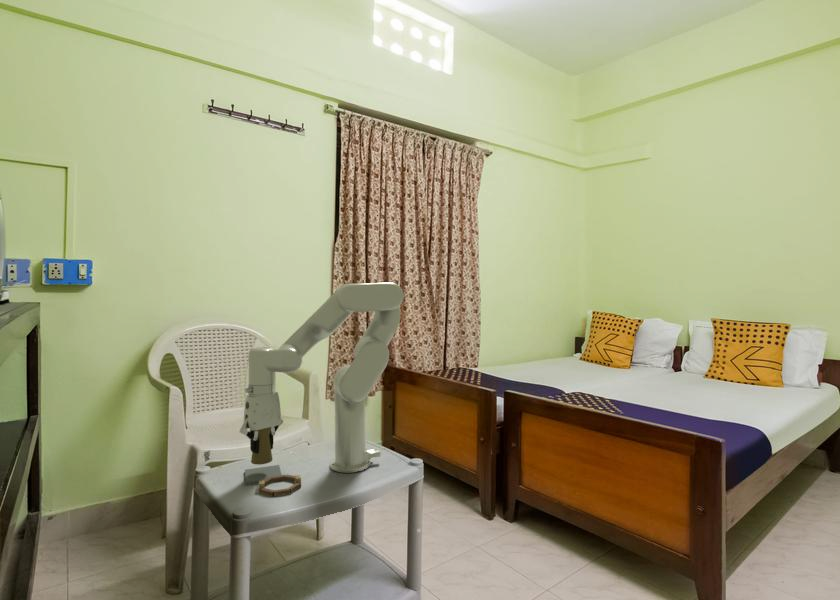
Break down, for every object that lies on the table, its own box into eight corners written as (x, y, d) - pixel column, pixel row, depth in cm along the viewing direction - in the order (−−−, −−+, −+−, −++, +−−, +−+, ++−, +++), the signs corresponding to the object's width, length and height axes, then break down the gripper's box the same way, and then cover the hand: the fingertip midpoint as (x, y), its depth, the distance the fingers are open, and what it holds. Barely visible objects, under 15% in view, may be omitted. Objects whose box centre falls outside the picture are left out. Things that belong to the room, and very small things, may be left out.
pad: (279, 467, 143) (279, 464, 143) (282, 479, 134) (282, 477, 134) (244, 472, 139) (244, 469, 139) (245, 485, 130) (245, 482, 130)
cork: (272, 463, 134) (272, 426, 134) (250, 465, 133) (250, 427, 132) (272, 456, 140) (272, 420, 140) (251, 458, 138) (251, 422, 138)
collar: (298, 476, 136) (298, 469, 136) (303, 491, 126) (303, 483, 126) (258, 482, 132) (258, 475, 132) (260, 499, 122) (260, 490, 122)
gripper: (243, 396, 127) (243, 461, 127) (293, 386, 140) (293, 445, 141) (228, 392, 132) (228, 455, 132) (278, 383, 145) (278, 440, 145)
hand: (262, 449), depth 136 cm, fingers closed on cork, 4 cm apart
